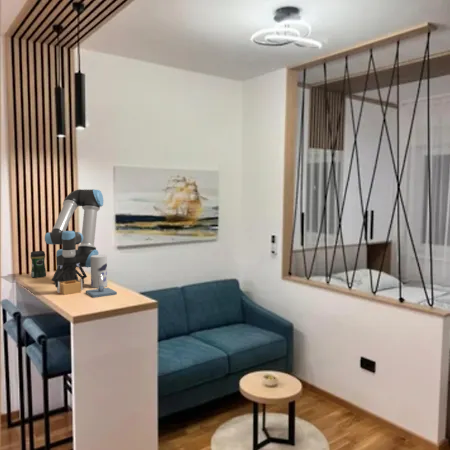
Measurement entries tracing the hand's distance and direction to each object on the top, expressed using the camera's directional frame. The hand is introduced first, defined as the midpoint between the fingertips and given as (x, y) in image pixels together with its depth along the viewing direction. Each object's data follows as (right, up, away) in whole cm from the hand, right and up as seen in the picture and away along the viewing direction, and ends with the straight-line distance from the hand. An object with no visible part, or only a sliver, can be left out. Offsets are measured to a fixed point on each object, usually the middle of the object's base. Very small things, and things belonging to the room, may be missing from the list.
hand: (70, 290), depth 260 cm
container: (+13, 0, +16) cm, 21 cm away
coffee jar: (-39, +3, +45) cm, 59 cm away
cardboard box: (0, -1, 0) cm, 1 cm away
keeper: (+20, -1, -4) cm, 21 cm away
